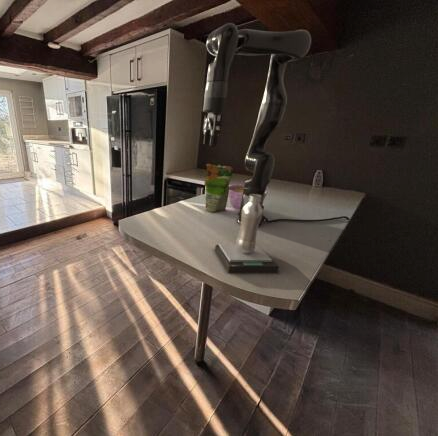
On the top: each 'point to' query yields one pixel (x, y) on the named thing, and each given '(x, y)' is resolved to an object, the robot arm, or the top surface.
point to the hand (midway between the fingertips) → (209, 145)
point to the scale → (245, 260)
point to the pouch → (217, 187)
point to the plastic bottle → (249, 224)
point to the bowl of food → (237, 195)
